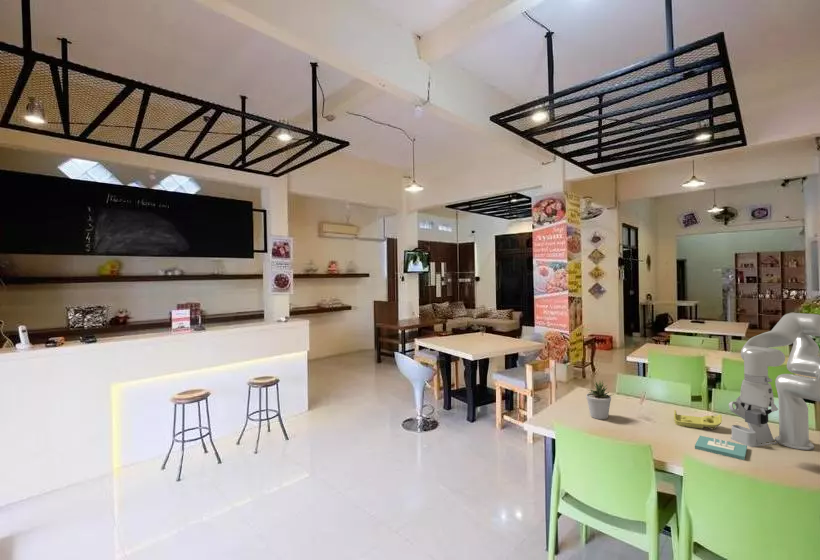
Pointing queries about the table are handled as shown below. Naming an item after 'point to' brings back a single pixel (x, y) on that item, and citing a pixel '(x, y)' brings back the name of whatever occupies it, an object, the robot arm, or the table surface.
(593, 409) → the potted plant
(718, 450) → the board
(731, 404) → the phone holder
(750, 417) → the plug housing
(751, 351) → the robot arm
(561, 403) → the table surface
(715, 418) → the plastic component
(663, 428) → the table surface
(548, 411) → the table surface
